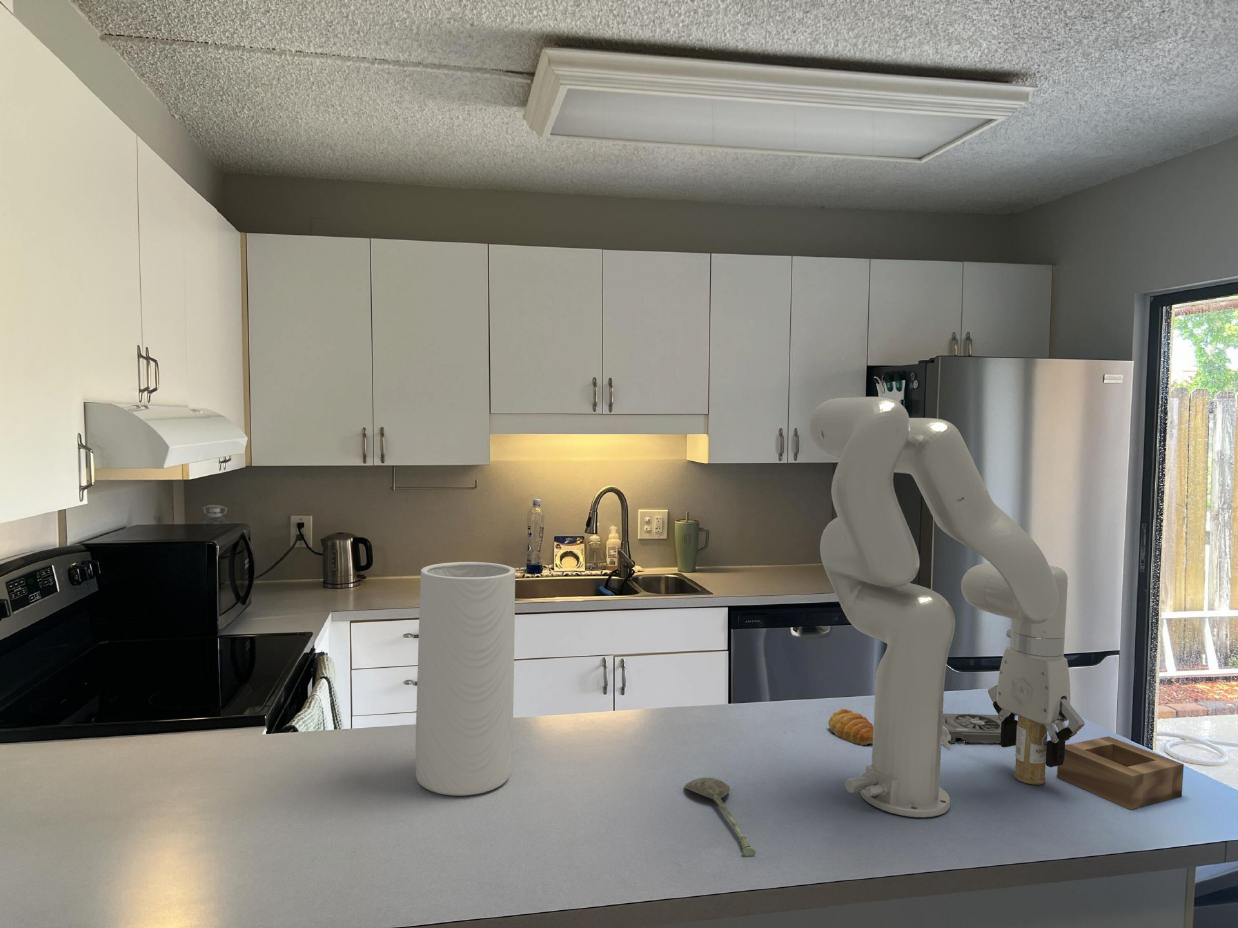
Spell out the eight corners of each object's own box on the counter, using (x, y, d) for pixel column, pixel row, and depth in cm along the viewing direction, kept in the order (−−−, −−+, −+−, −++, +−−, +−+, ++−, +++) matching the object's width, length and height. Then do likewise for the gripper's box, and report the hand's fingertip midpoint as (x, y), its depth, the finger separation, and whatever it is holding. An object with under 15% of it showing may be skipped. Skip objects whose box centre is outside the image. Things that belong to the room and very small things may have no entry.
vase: (505, 800, 119) (511, 579, 117) (404, 797, 119) (408, 576, 117) (517, 759, 133) (522, 562, 132) (426, 757, 133) (430, 560, 131)
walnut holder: (1130, 809, 122) (1132, 775, 122) (1056, 777, 133) (1058, 746, 133) (1181, 796, 127) (1183, 763, 127) (1106, 766, 138) (1108, 736, 138)
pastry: (887, 745, 145) (888, 723, 145) (855, 749, 143) (855, 727, 142) (854, 726, 154) (855, 705, 153) (823, 730, 151) (824, 709, 151)
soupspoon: (721, 788, 128) (679, 792, 126) (721, 766, 128) (679, 770, 126) (773, 857, 106) (723, 863, 105) (772, 831, 106) (722, 836, 105)
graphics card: (944, 733, 143) (915, 707, 155) (943, 754, 143) (914, 727, 155) (1040, 735, 144) (1004, 709, 156) (1038, 756, 144) (1002, 729, 156)
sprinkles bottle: (1044, 788, 129) (1049, 701, 128) (1012, 781, 131) (1016, 696, 130) (1046, 777, 133) (1051, 693, 132) (1014, 770, 135) (1019, 688, 134)
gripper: (974, 633, 137) (969, 738, 138) (1071, 661, 121) (1064, 781, 122) (1007, 629, 140) (1001, 732, 141) (1105, 657, 124) (1099, 773, 125)
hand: (1031, 754), depth 132 cm, fingers open, 7 cm apart
